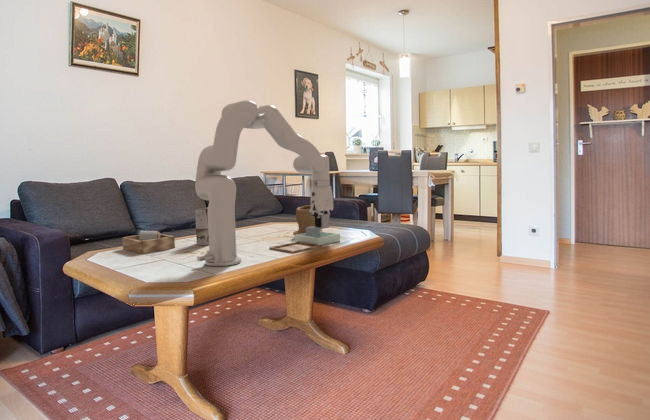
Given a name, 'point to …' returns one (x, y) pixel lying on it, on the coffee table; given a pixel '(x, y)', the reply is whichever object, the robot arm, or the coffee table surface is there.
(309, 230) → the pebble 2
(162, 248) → the wooden box
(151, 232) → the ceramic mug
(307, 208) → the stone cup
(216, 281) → the coffee table surface
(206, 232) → the coffee box
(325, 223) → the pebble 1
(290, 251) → the tray
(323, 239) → the pale green square tray
